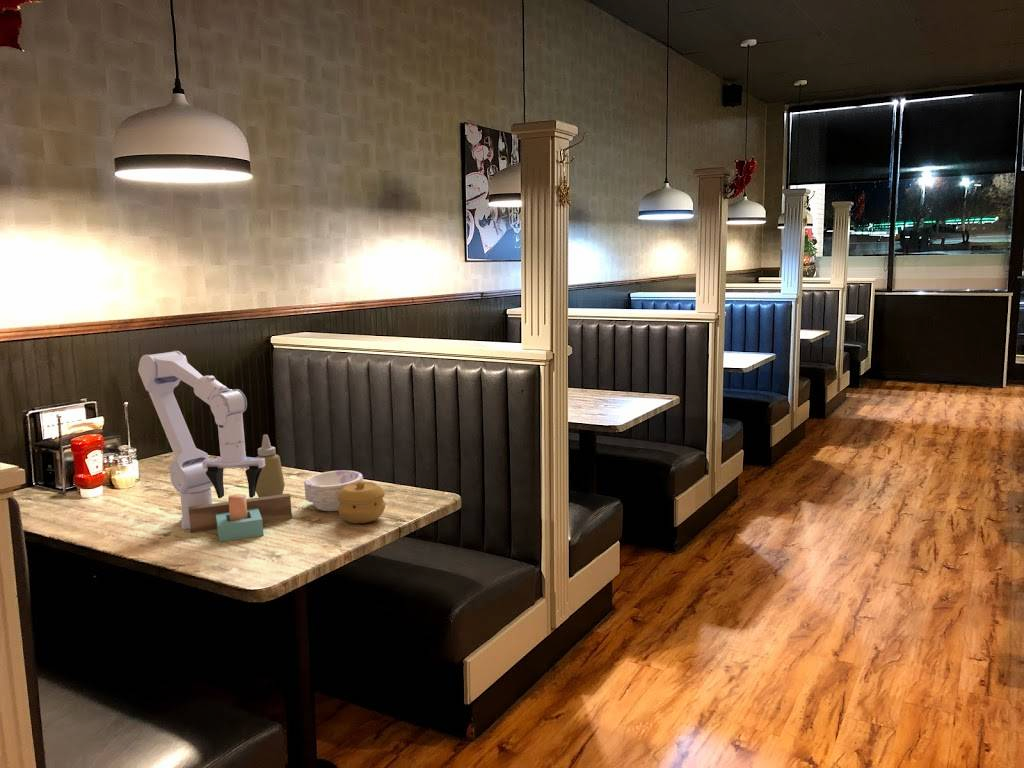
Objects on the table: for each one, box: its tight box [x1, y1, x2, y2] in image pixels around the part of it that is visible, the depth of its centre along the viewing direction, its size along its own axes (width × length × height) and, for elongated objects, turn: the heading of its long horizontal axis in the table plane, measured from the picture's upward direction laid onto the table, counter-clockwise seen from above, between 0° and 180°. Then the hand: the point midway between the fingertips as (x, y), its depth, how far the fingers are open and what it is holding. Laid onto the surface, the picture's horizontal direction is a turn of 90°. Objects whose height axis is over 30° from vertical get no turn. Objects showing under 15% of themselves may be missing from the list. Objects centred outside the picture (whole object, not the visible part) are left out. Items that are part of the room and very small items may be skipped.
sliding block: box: [216, 508, 264, 543], centre depth 202 cm, size 10×10×4 cm
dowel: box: [227, 493, 248, 521], centre depth 202 cm, size 4×4×8 cm
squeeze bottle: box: [255, 434, 286, 498], centre depth 228 cm, size 8×8×18 cm
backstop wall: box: [188, 493, 293, 534], centre depth 208 cm, size 2×24×6 cm, turn 112°
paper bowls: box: [303, 469, 364, 512], centre depth 221 cm, size 15×15×8 cm
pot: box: [337, 481, 387, 524], centre depth 209 cm, size 12×12×10 cm
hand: (236, 496), depth 201 cm, fingers open, 7 cm apart
